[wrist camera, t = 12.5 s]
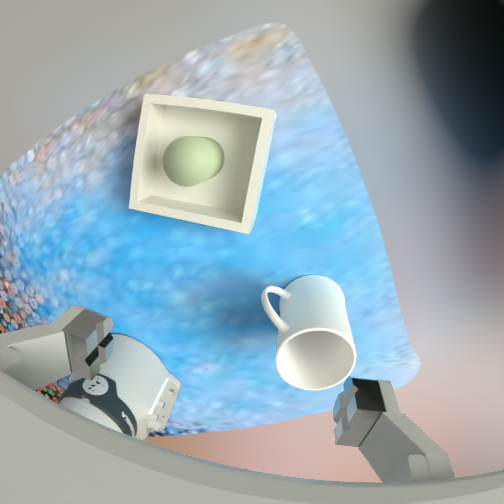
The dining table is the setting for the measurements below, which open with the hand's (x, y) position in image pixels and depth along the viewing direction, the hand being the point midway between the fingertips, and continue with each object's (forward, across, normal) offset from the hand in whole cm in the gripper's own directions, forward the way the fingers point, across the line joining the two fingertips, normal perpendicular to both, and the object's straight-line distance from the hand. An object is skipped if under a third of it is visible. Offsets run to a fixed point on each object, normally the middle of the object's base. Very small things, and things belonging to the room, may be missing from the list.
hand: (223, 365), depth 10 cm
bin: (+29, +9, -3) cm, 31 cm away
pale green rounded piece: (+28, +9, -3) cm, 30 cm away
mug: (+29, -6, +11) cm, 32 cm away
